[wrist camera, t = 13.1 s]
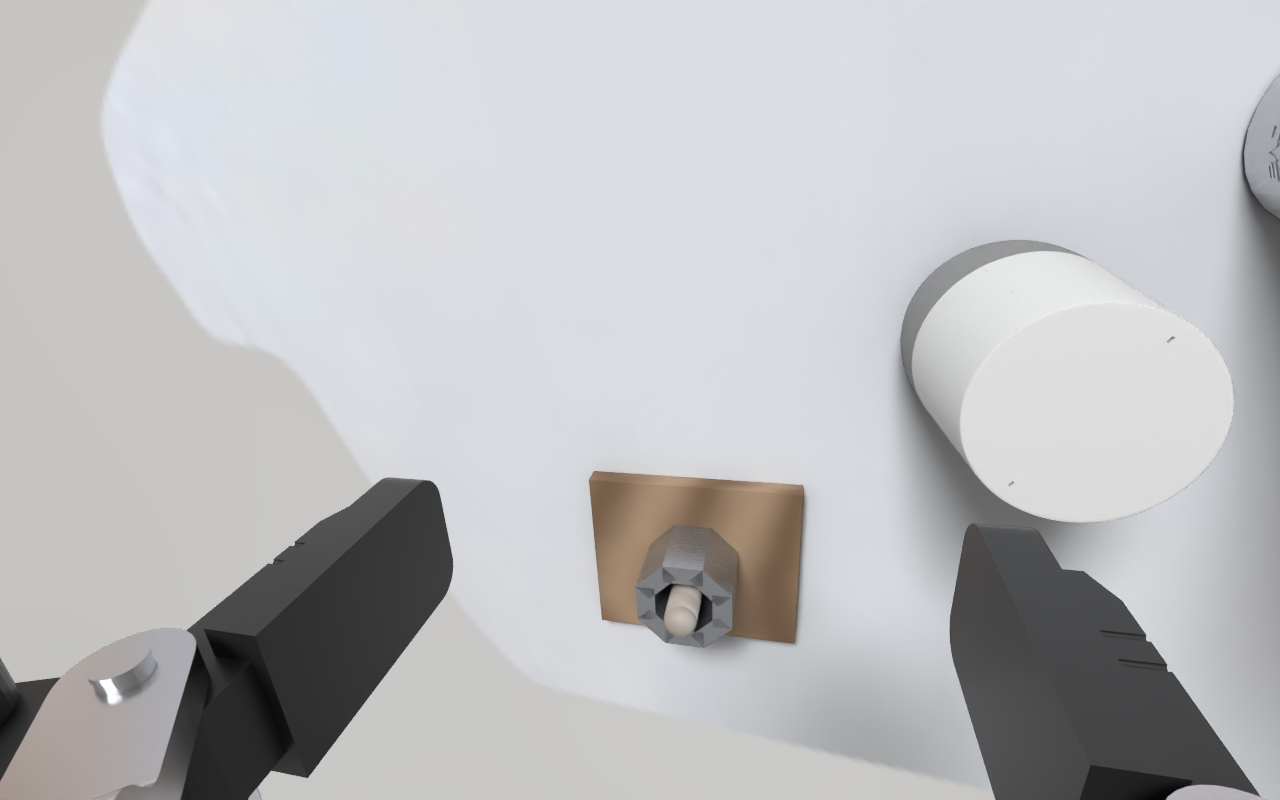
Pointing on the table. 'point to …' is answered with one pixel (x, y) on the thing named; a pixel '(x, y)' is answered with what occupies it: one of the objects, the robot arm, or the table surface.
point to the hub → (689, 582)
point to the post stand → (736, 510)
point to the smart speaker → (1064, 382)
